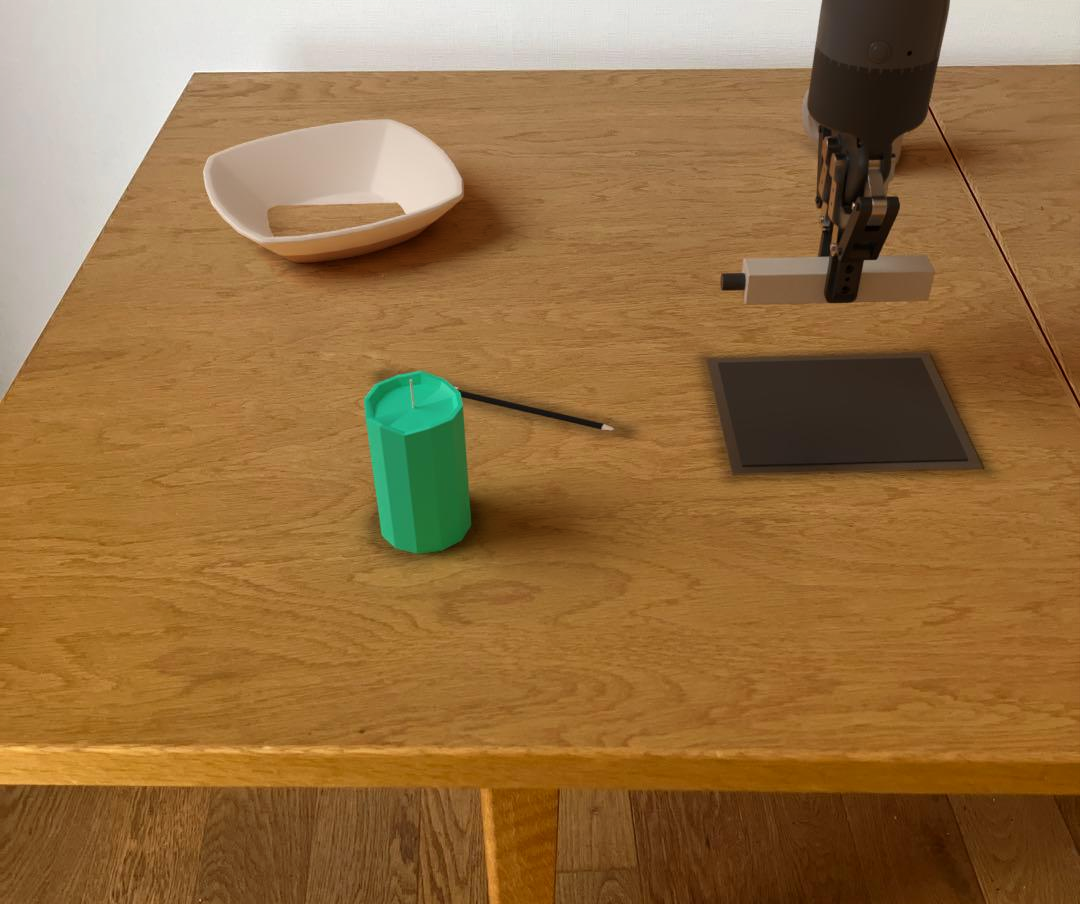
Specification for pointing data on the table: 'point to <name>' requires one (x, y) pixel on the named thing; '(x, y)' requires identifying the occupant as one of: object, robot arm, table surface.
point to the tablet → (837, 415)
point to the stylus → (808, 277)
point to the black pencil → (534, 410)
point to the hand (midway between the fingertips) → (835, 288)
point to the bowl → (334, 184)
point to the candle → (419, 461)
